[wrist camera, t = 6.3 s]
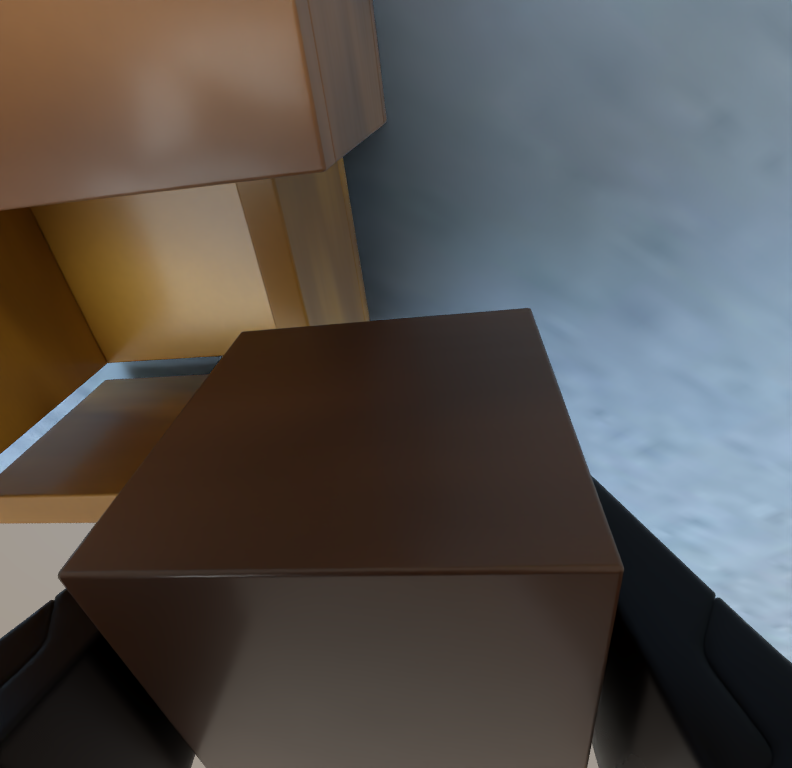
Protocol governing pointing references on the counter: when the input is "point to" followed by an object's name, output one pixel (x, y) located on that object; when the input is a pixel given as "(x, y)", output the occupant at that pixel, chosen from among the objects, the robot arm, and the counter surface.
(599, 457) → the counter surface
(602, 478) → the counter surface
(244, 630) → the block
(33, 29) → the cabinet
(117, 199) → the drawer
